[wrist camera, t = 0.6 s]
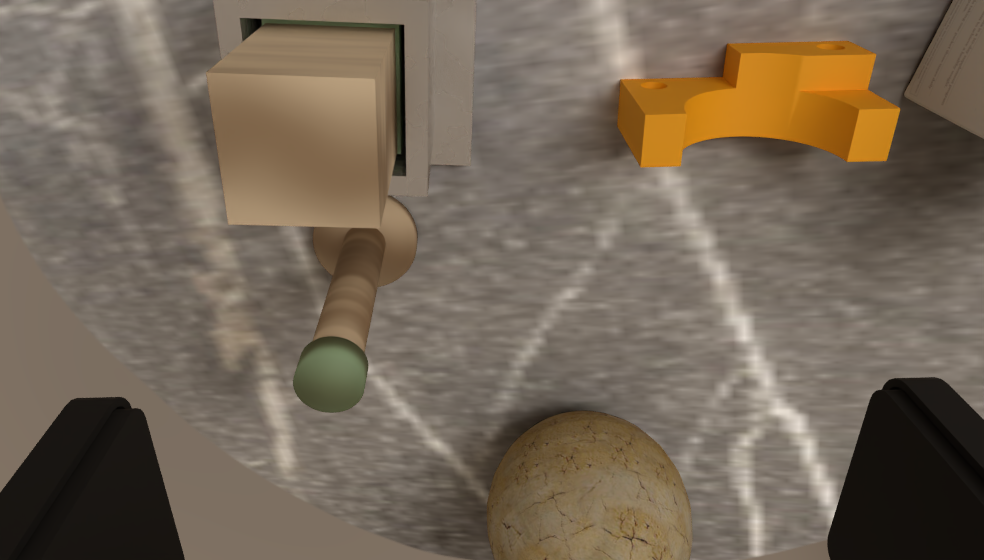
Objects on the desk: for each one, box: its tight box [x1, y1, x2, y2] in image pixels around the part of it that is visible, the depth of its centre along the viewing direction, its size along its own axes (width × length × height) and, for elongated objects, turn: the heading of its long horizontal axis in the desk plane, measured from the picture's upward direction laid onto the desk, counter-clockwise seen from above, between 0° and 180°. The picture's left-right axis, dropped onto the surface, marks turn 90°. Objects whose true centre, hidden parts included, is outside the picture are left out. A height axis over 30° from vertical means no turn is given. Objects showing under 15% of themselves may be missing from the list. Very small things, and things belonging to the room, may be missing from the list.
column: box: [206, 19, 406, 228], centre depth 31 cm, size 6×6×15 cm
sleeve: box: [213, 0, 476, 196], centre depth 34 cm, size 12×12×10 cm
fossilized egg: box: [487, 411, 693, 560], centre depth 46 cm, size 13×13×15 cm
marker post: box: [293, 195, 418, 413], centre depth 37 cm, size 6×6×14 cm
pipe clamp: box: [617, 41, 900, 167], centre depth 37 cm, size 12×4×6 cm, turn 91°
